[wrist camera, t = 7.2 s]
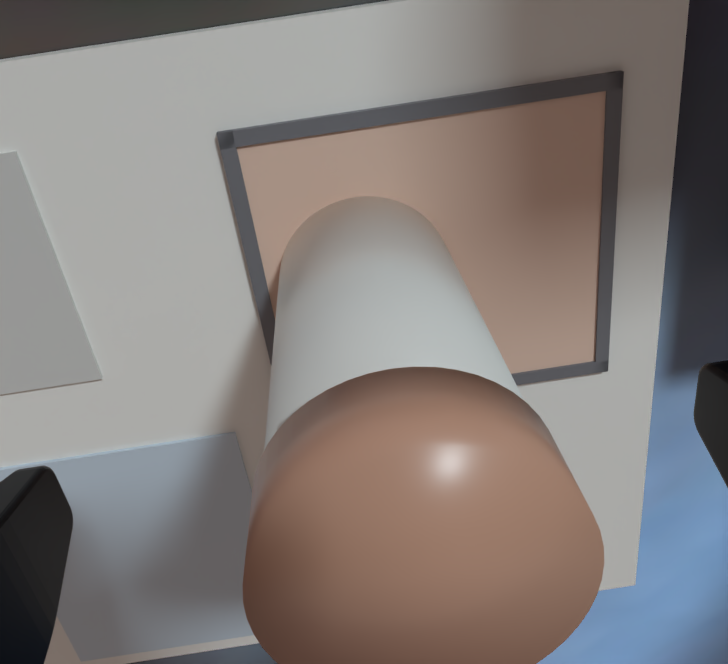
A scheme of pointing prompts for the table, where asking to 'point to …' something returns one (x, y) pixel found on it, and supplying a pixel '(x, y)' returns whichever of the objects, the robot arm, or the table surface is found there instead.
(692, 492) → the table surface
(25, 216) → the picture board
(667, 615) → the table surface
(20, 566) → the robot arm
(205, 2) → the table surface
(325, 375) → the light grey cylinder
